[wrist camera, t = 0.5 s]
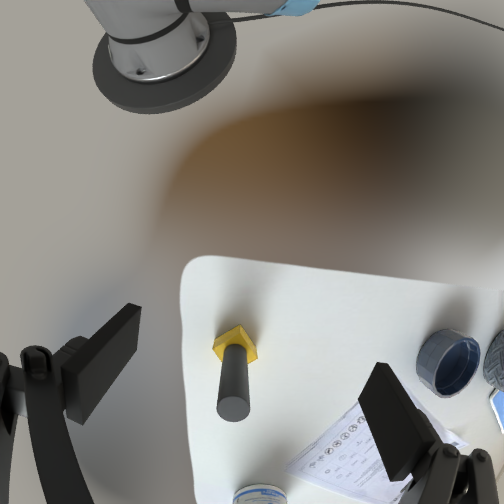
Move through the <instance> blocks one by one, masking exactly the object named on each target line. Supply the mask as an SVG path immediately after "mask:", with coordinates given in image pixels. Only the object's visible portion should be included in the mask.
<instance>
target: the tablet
mask: <svg viewBox="0 0 504 504" xmlns="http://www.w3.org/2000/svg"><path fill="white" fill-rule="evenodd" d="M489 400H490V403H491V405H492V407H493V410H494V412H495V415H496V417H497V420H498V422H499V425H500V428H501V431H502V433H504V392H502V391H500V390H498V389H497V388H496V389H495V391H494V392H493V393H492V394H491V396H490V399H489Z"/></svg>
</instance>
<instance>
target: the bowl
mask: <svg viewBox="0 0 504 504" xmlns="http://www.w3.org/2000/svg"><path fill="white" fill-rule="evenodd" d="M479 361H480V348H479V344H478V343H477V342H476V341H475V340H474V339H473V338H472V337H470V336H467V335H465V334H463V333H461V332H459V331H457V330H453V329H445V330H441V331H438V332H436V333H435V334H433V335H432V336H431V337H430V338H429V339H428V340H427V341H426V342H425V344H424V345H423V347H422V348H421V350H420V353H419V355H418V358H417V363H416V370H417V374H418V377H419V379H420V381H421V382H422V383H423V384H424V385H425V386H426V387H427V388H429V389H430V390H431V391H432V392H433V393H434V394H436V395H437V396H439V397H440V398H450V397H452V396H454V395H456V394H459V393H460V392H461V391H462V390H463V389H464V388H465V387H466V386H467V385H468V384H469V383H470V381H471V380H472V378H473V377H474V375H475V373H476V371H477V368H478V365H479Z"/></svg>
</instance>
